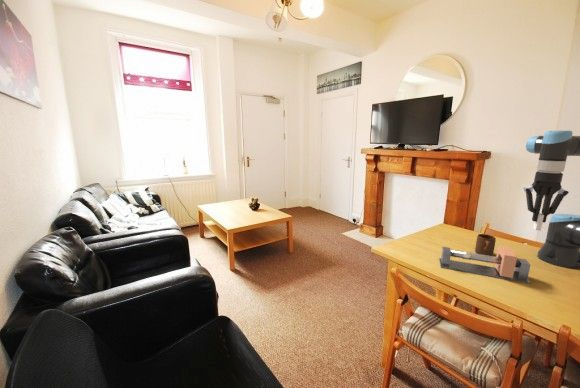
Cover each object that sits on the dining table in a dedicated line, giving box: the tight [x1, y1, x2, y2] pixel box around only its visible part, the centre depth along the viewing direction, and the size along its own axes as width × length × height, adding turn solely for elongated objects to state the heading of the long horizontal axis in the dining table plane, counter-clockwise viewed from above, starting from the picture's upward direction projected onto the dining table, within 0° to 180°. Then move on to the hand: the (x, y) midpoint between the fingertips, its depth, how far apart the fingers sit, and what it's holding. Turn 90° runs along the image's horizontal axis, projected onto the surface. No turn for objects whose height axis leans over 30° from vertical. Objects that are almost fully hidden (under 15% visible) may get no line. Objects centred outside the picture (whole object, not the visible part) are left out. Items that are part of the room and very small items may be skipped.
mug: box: [474, 233, 497, 256], centre depth 130 cm, size 12×8×9 cm, turn 150°
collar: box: [494, 245, 518, 278], centre depth 111 cm, size 4×10×10 cm, turn 155°
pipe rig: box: [438, 246, 532, 285], centre depth 115 cm, size 32×9×8 cm, turn 64°
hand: (536, 229), depth 105 cm, fingers closed
